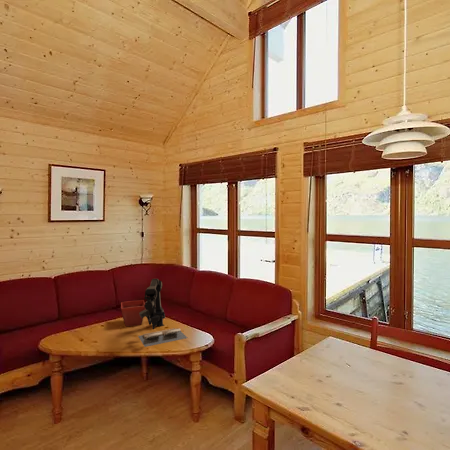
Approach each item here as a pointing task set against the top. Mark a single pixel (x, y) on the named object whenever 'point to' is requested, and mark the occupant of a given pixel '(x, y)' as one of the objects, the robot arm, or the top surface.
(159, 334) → the light beige plank
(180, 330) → the beige flat square block
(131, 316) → the plant pot
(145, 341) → the underlay
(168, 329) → the light brown plank
